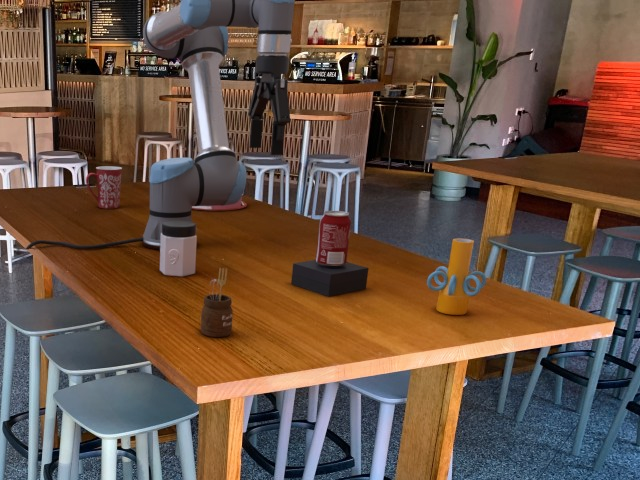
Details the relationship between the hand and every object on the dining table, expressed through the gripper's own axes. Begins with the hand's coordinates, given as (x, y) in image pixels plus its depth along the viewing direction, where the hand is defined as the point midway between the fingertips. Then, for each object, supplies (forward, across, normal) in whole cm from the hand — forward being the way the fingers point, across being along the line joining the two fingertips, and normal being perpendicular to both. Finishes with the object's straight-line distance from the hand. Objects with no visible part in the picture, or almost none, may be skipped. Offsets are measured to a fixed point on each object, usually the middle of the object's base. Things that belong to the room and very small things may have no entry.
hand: (265, 151), depth 189 cm
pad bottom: (+28, -21, -10) cm, 36 cm away
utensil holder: (+28, -48, +27) cm, 61 cm away
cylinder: (+28, -44, -26) cm, 58 cm away
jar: (+28, -2, +21) cm, 36 cm away
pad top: (+25, -21, -10) cm, 34 cm away
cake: (+30, +89, -17) cm, 95 cm away
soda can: (+23, -21, -10) cm, 33 cm away
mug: (+30, +91, +22) cm, 98 cm away
